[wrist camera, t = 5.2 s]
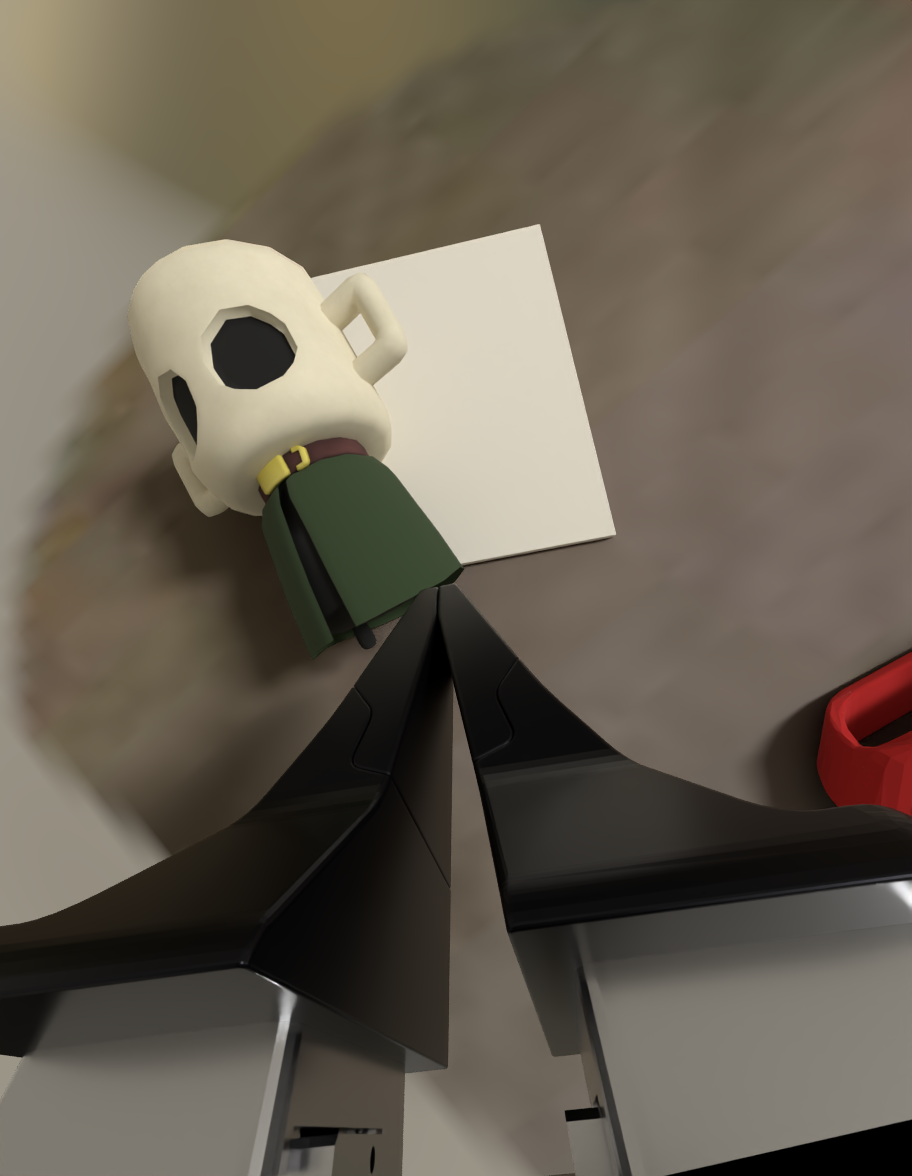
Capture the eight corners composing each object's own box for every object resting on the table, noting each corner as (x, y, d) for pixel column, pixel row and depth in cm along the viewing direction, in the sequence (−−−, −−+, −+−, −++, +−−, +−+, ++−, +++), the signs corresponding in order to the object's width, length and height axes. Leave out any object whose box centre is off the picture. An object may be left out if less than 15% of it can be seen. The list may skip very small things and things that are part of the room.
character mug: (220, 729, 13) (48, 388, 14) (345, 666, 20) (225, 440, 20) (514, 557, 9) (262, 118, 10) (543, 552, 16) (389, 287, 17)
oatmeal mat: (613, 537, 18) (616, 534, 17) (305, 595, 18) (301, 593, 18) (538, 232, 20) (539, 224, 20) (271, 295, 21) (267, 288, 21)
